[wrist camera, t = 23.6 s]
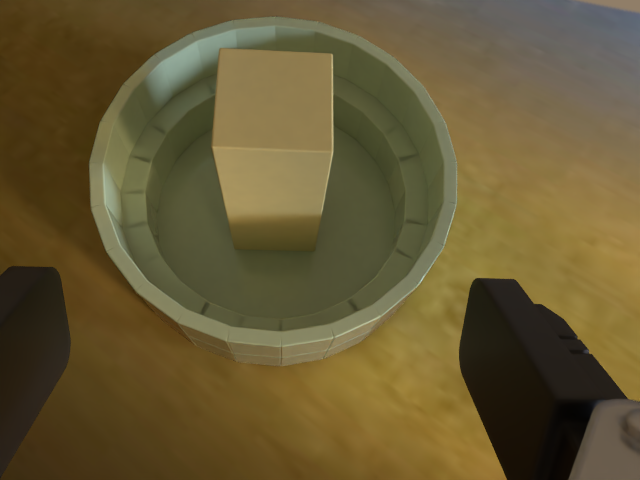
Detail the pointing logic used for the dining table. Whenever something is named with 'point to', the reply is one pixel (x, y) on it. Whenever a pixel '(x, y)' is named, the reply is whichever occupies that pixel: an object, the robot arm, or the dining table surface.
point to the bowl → (210, 216)
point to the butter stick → (273, 145)
